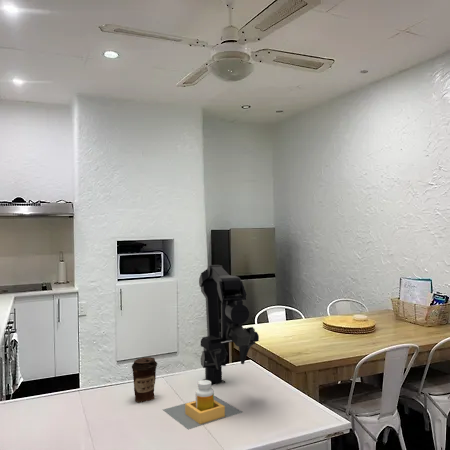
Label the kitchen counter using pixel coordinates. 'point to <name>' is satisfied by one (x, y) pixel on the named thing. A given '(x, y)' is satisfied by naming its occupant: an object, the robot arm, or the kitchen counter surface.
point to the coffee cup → (144, 378)
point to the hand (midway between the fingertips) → (230, 366)
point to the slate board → (189, 423)
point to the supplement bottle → (204, 395)
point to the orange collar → (204, 412)
